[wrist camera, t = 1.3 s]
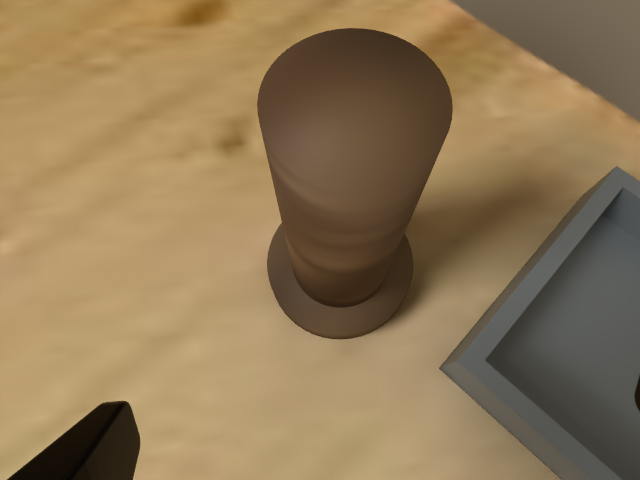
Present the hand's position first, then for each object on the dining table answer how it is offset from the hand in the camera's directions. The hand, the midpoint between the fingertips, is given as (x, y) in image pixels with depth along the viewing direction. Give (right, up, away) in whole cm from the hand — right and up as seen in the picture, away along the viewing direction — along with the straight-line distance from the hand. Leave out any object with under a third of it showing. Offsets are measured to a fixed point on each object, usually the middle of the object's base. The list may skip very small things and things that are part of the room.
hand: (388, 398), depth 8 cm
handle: (0, +1, +15) cm, 15 cm away
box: (+13, -3, +13) cm, 19 cm away
